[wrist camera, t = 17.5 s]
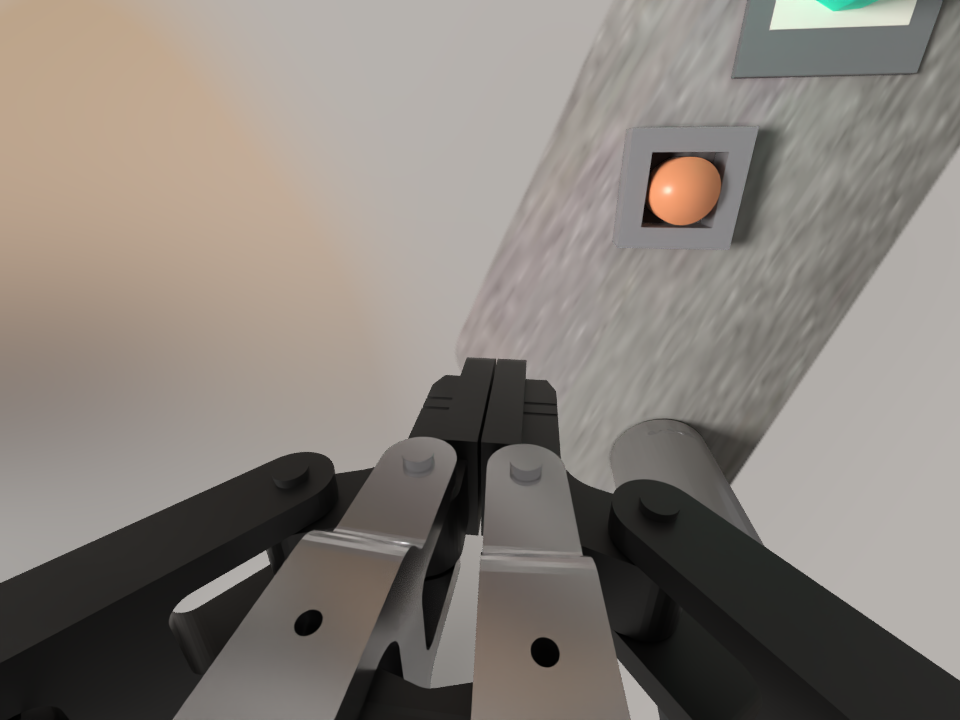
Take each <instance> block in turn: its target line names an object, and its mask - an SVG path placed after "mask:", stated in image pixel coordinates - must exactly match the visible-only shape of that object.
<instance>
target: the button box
mask: <svg viewBox="0 0 960 720" xmlns="http://www.w3.org/2000/svg"><path fill="white" fill-rule="evenodd" d="M758 129H759V126H736V127H648V128H630V129H626V136H625V144H624V152H623V160H622V168H621V176H620V184H619V192H618V200H617V208H616V216H615V224H614V232H613V240H612V242H613V243H614V244H615V245H616V247H617V248H661V249H713V250H729V249H730V245H731V240H732V236H733V232H734V228H735V224H736V220H737V216H738V211H739V207H740V203H741V199H742V195H743V191H744V187H745V183H746V178H747V174H748V170H749V166H750V162H751V158H752V154H753V149H754V145H755V141H756V137H757V133H758ZM652 152H716V153H715V158H714V163H713V165H714V166H715V168H716V169H717V171H718V173H719V175H720V179H721V190H720V195H719V198H718V200H717V202H716V204H715V206H714V207H713V208H712V210H711V211H710V212H709V213H708V214H707V215H706V216H705V217H703V218H702V220H701V223H691V224H688V225H674V224H671V223H642V217H643V211H644V204H645V197H646V191H647V184H648V177H649V171H650V164H651V158H652Z"/></svg>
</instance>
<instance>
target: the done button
mask: <svg viewBox="0 0 960 720" xmlns="http://www.w3.org/2000/svg"><path fill="white" fill-rule="evenodd" d="M720 190H721V179H720V175H719V173H718V171H717V169H716V168H715V166H714V165H713V164H712V163H710V162H709V161H707V160H705V159H703V158H699V157H673V158H669V159H667V160H665V161H663V162H661V163H660V164H659V165H657V166H656V167H655V168H654V169H653V170H652V172H651V173H650V175H649V177H648V184H647V191H646V197H645V203H646V206H647V208H648V209H649V210H650V212H651V213H653V214H654V215H655V216H657V217H659V218H661V219H663V220H664V221H666V222H668V223H671V224H674V225H688V224H691V223H694V222H697V221H698V220H700V219H702V218H703V217H705V216H706V215H707V214H708V213H709V212H710V211H711V210H712V208H713V207H714V206H715V204H716V202H717V200H718V198H719V195H720Z"/></svg>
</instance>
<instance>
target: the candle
mask: <svg viewBox="0 0 960 720" xmlns="http://www.w3.org/2000/svg"><path fill="white" fill-rule="evenodd" d="M816 1H817V2H819V3H821V4H822V5H824V6H825V7H827V8H829V9H830V10H832V11H841V10H850V9H858V8H863V7H865V6H867V5H870V4H872V3H874V2H876V1H878V0H816Z"/></svg>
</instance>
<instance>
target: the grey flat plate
mask: <svg viewBox="0 0 960 720" xmlns="http://www.w3.org/2000/svg"><path fill="white" fill-rule="evenodd" d="M942 2H943V0H878V1H876V2H874V3H872V4H870V5H867V6H865V7H863V8H858V9H850V10H841V11H832V10H830V9H829V8H827V7H825V6H824V5H822V4H821V3H819V2H817V1H816V0H747V4H746V9H745V14H744V19H743V24H742V28H741V33H740V38H739V43H738V48H737V52H736V57H735V62H734V67H733V72H732V76H731V78H770V77H812V76H855V75H898V74H913V73H917V71H918V68H919V65H920V63H921V60H922V57H923V54H924V52H925V49H926V46H927V43H928V41H929V38H930V35H931V32H932V30H933V27H934V24H935V21H936V19H937V16H938V13H939V10H940V8H941V5H942Z"/></svg>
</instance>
